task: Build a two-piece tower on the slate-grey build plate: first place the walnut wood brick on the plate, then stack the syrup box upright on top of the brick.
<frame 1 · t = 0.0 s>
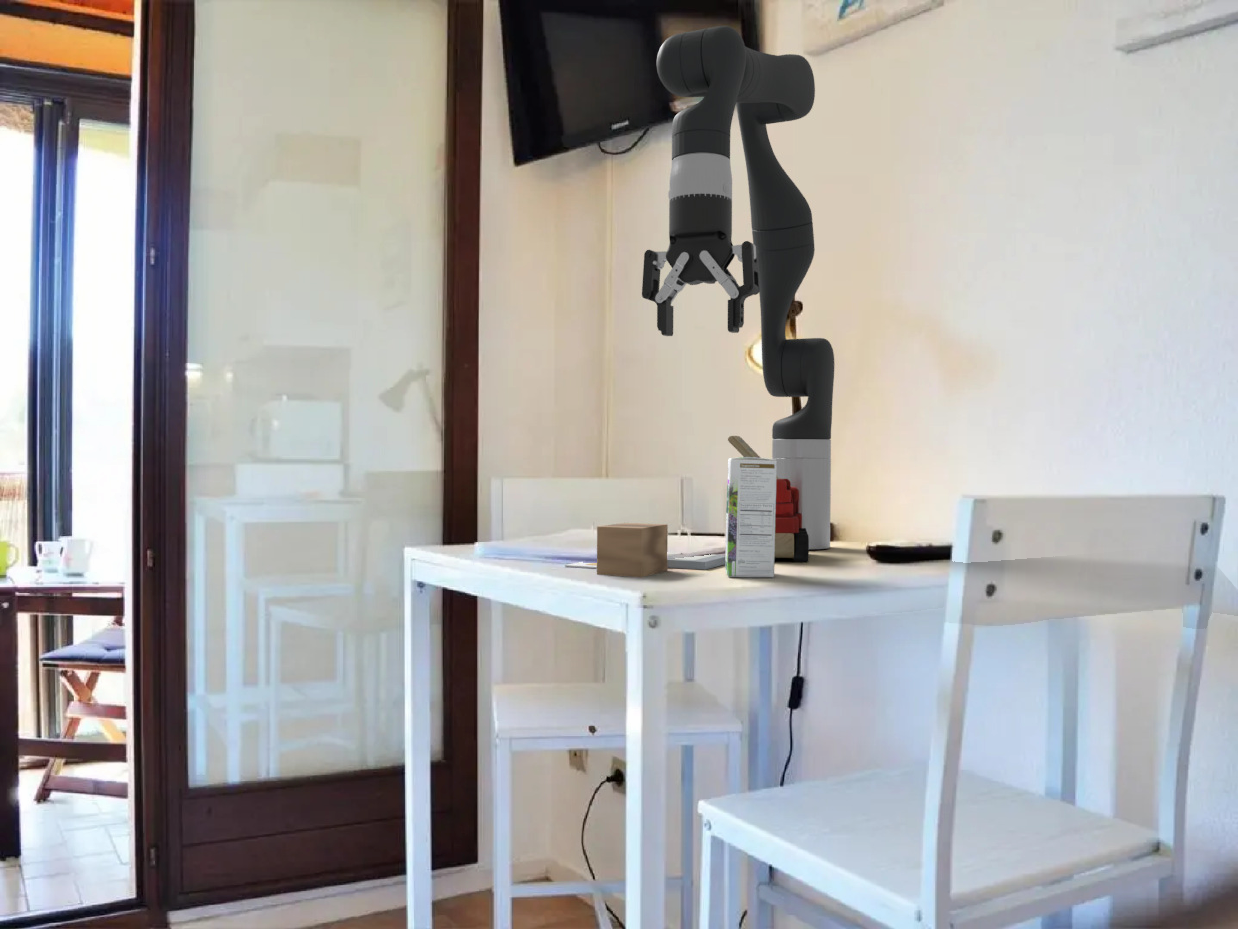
hand: (699, 333, 126), 29 cm above the table, fingers open, 8 cm apart
brick: (632, 573, 131), on the table
toy fire truck: (767, 559, 151), on the table
build plate: (683, 564, 141), on the table
wristwatch: (632, 561, 147), on the table
syrup box: (749, 577, 128), on the table
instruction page: (604, 564, 139), on the table
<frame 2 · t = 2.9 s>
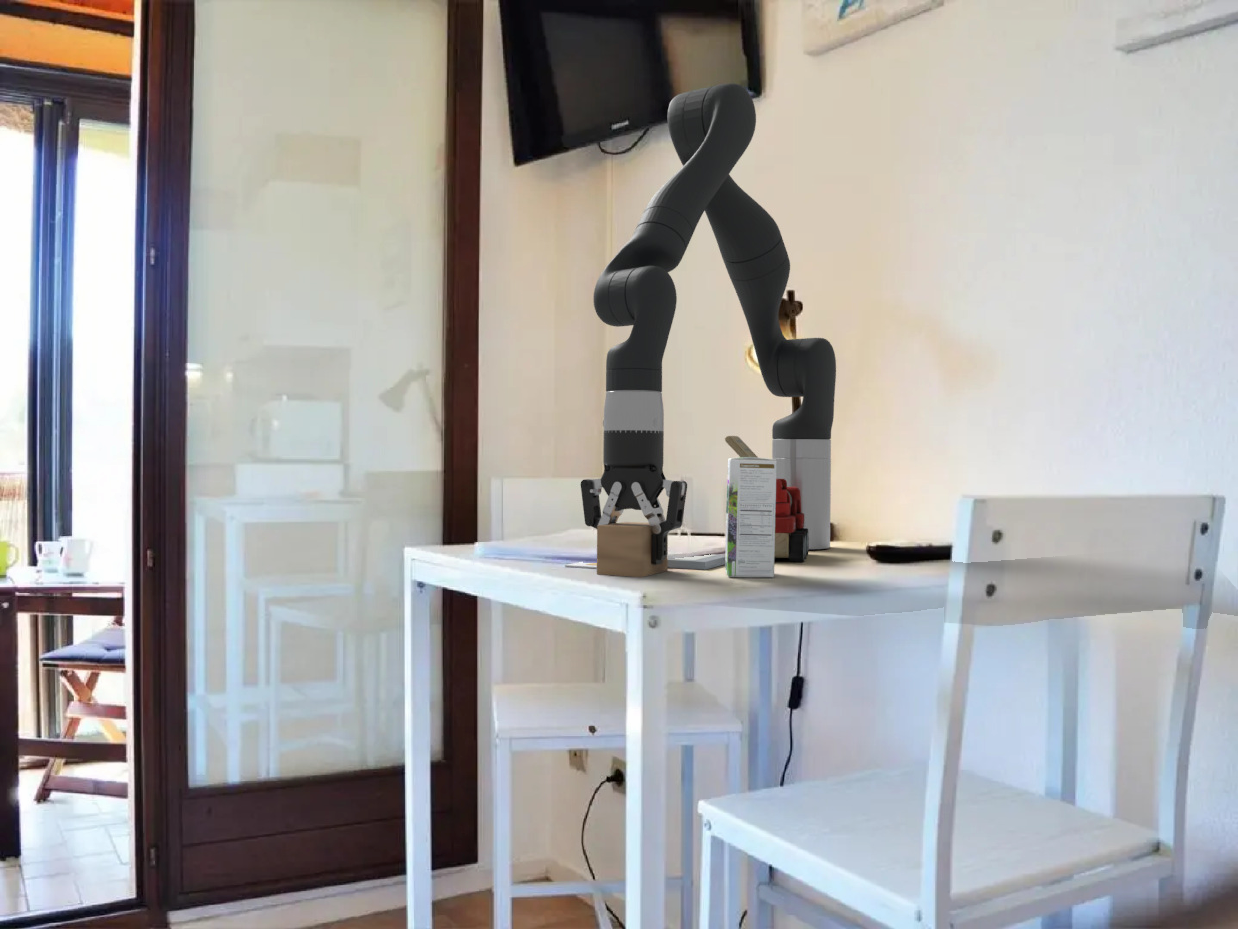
hand: (632, 562, 131), 1 cm above the table, fingers closed on brick, 6 cm apart
brick: (632, 572, 131), on the table, touching gripper
everything else where it was.
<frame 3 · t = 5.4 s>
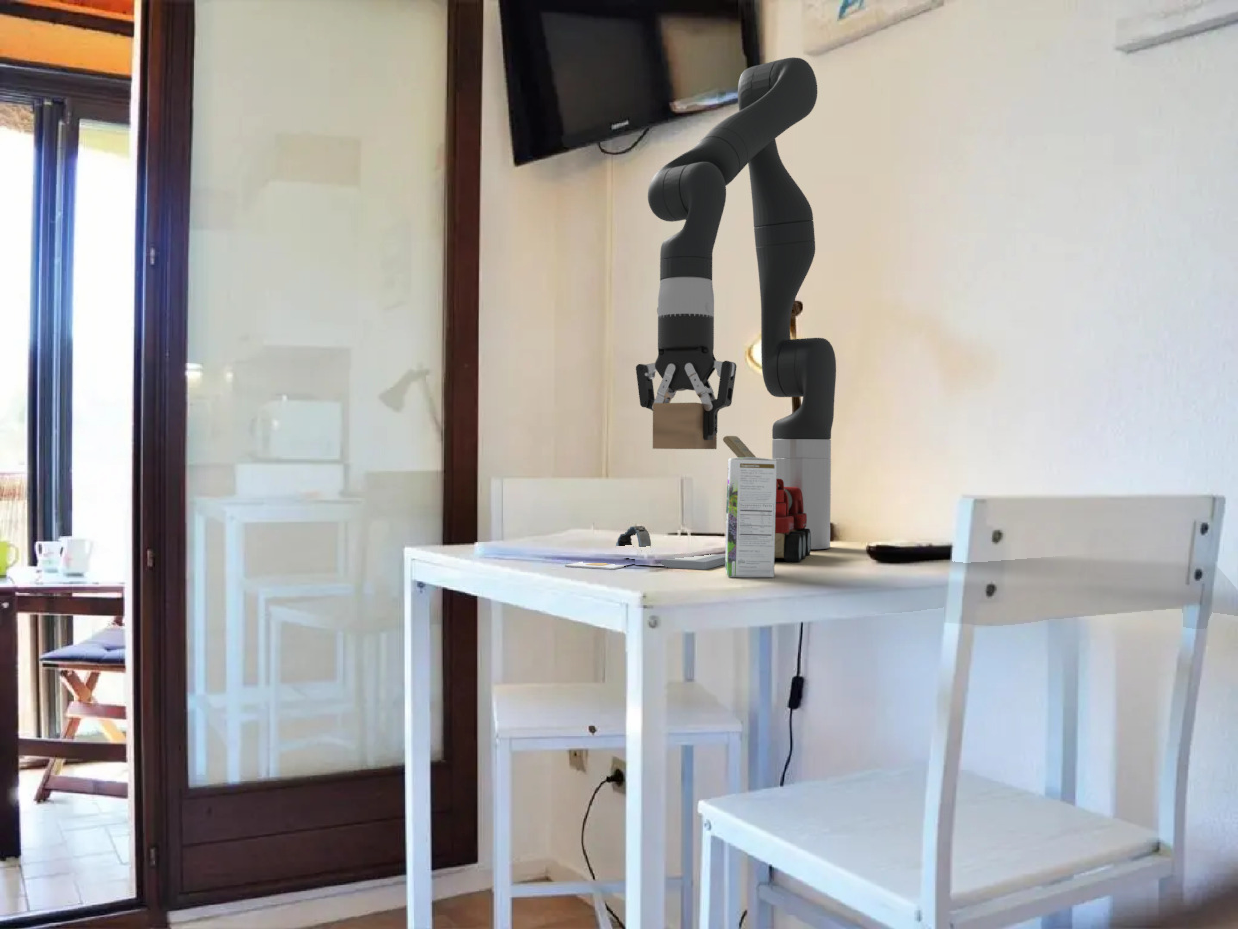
hand: (685, 439, 141), 17 cm above the table, fingers closed on brick, 6 cm apart
brick: (685, 448, 141), point 16 cm above the table, touching gripper
everything else where it was.
when the fingers open (4 cm above the table, at t = 8.2 s): brick drops 1 cm, resting on build plate.
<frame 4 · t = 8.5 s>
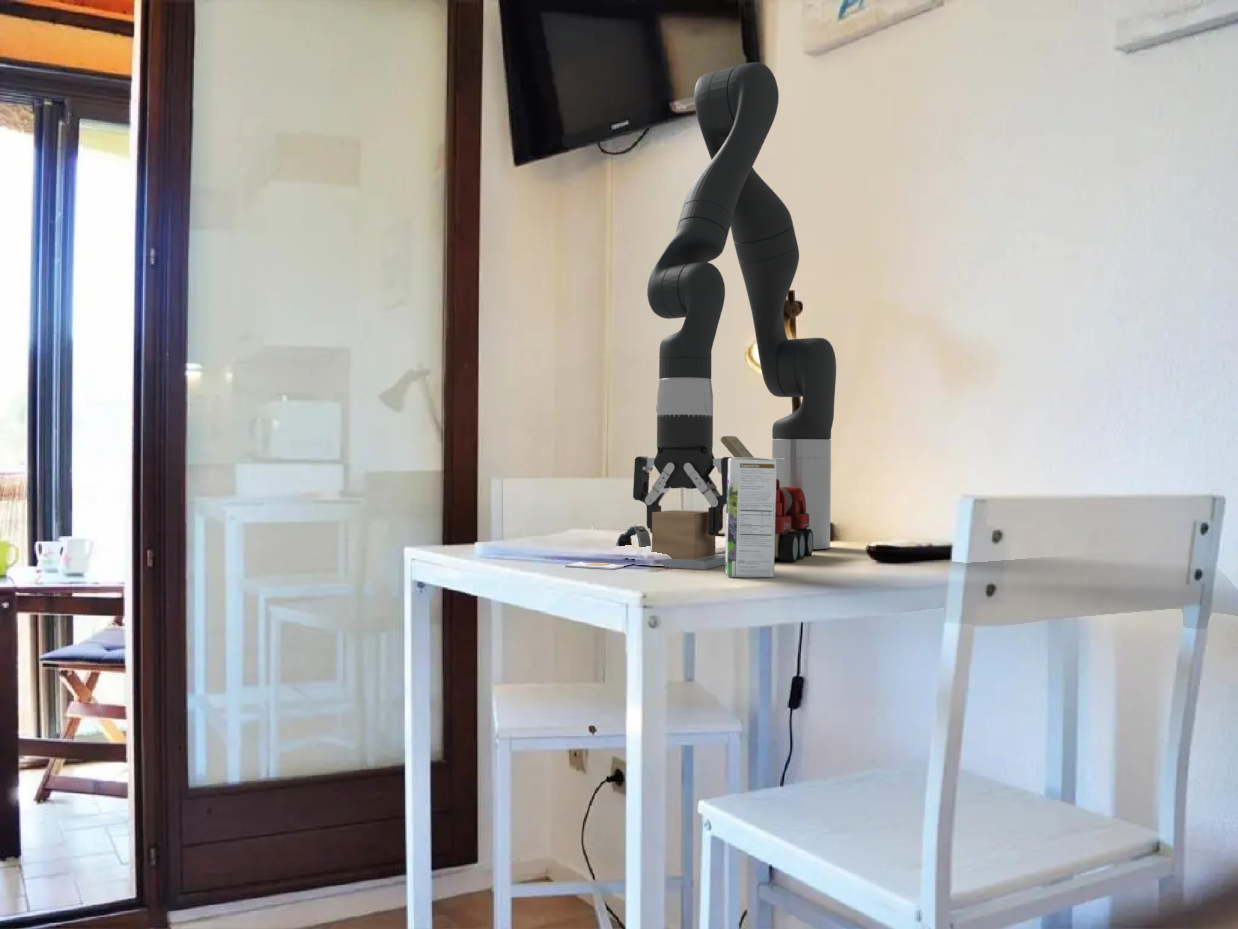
hand: (684, 534, 141), 4 cm above the table, fingers open, 8 cm apart
brick: (684, 556, 141), point 1 cm above the table, touching build plate
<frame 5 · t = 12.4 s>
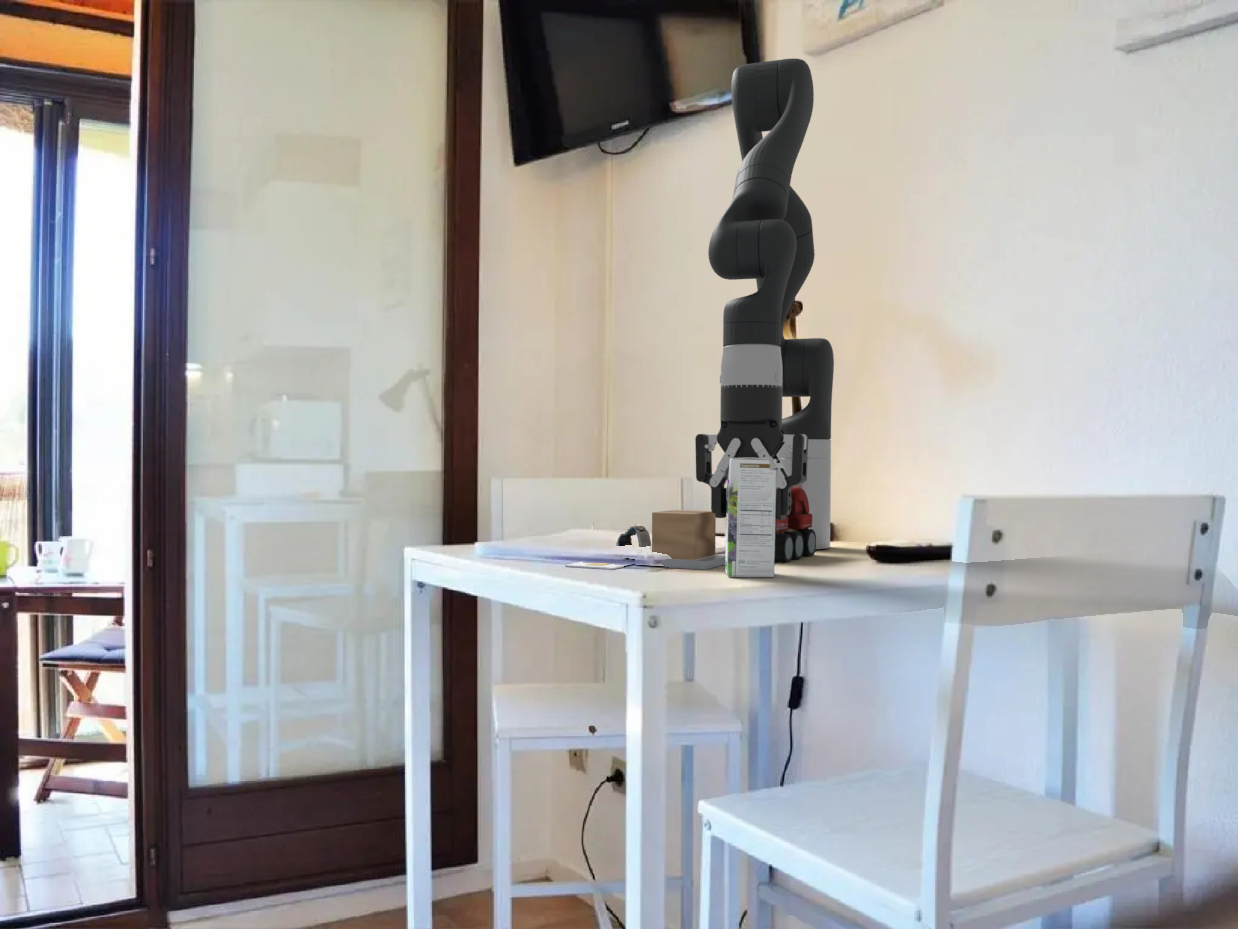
hand: (750, 518, 128), 7 cm above the table, fingers closed on syrup box, 7 cm apart
syrup box: (749, 576, 128), on the table, touching gripper
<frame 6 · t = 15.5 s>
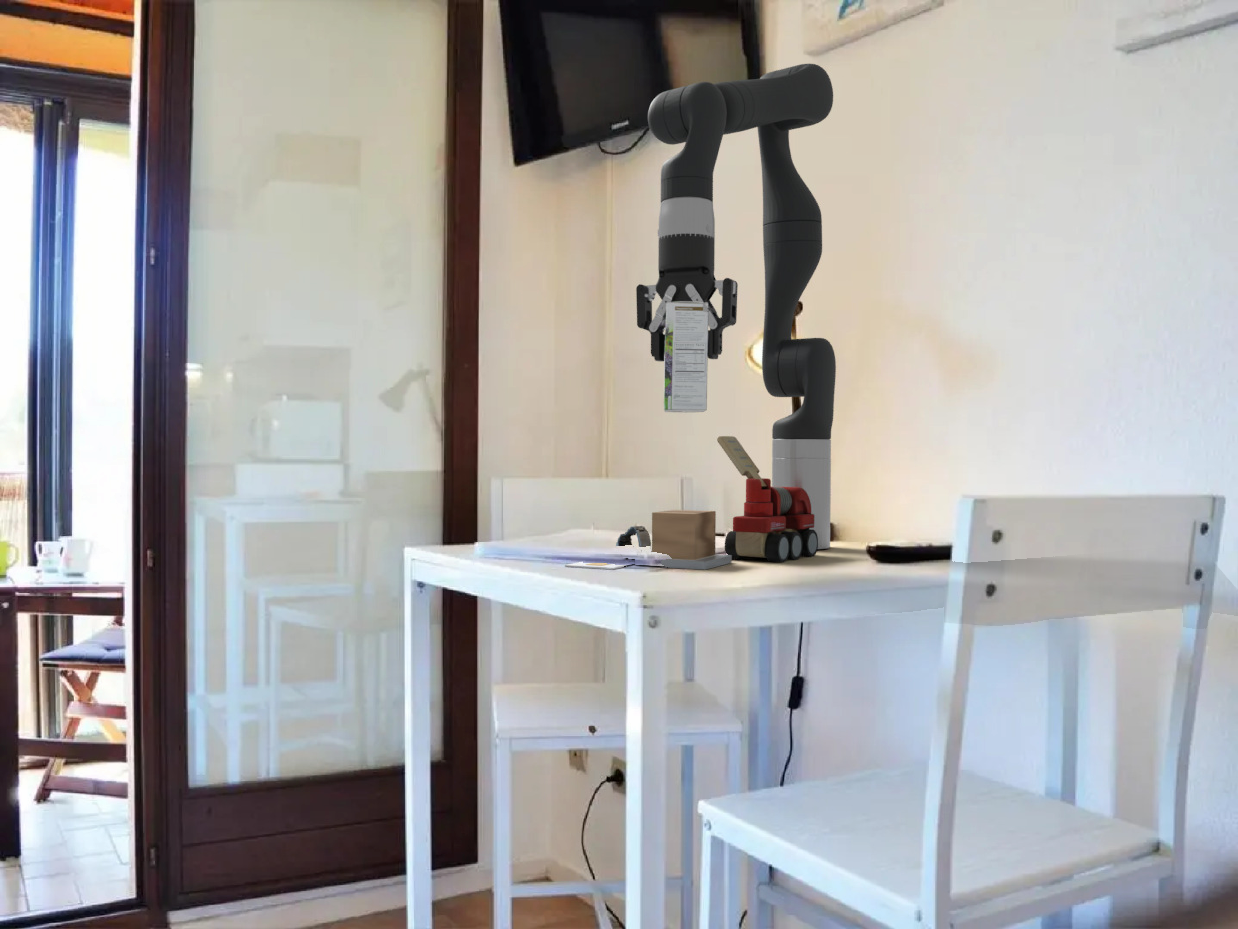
hand: (685, 359, 141), 27 cm above the table, fingers closed on syrup box, 7 cm apart
syrup box: (685, 413, 141), point 20 cm above the table, touching gripper
when the fingers open (15 cm above the table, at t = 19.1 s): syrup box stays where it is, resting on brick.
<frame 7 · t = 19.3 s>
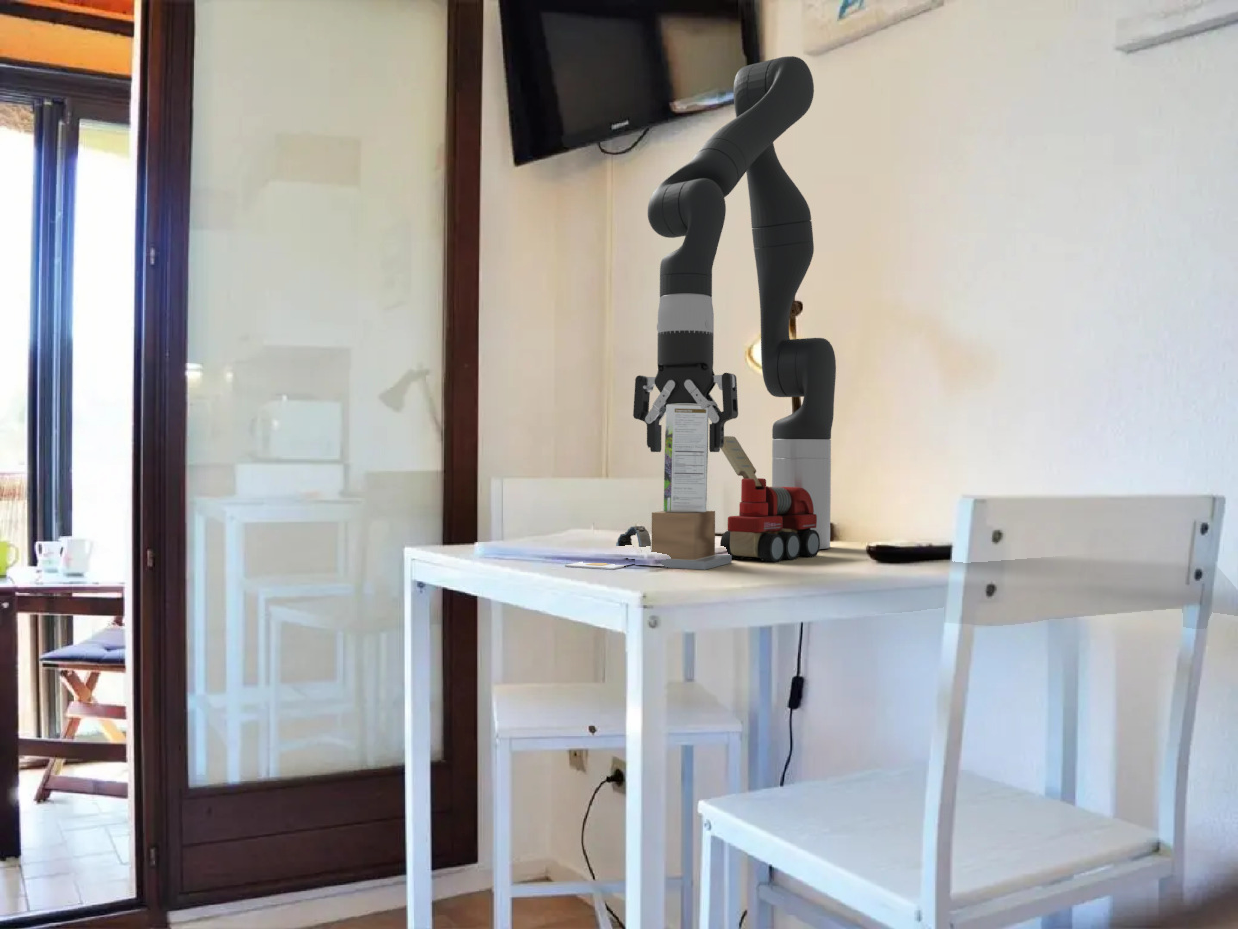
hand: (684, 452, 141), 15 cm above the table, fingers open, 8 cm apart
brick: (683, 556, 141), point 1 cm above the table, touching build plate, syrup box
syrup box: (685, 513, 141), point 7 cm above the table, touching brick
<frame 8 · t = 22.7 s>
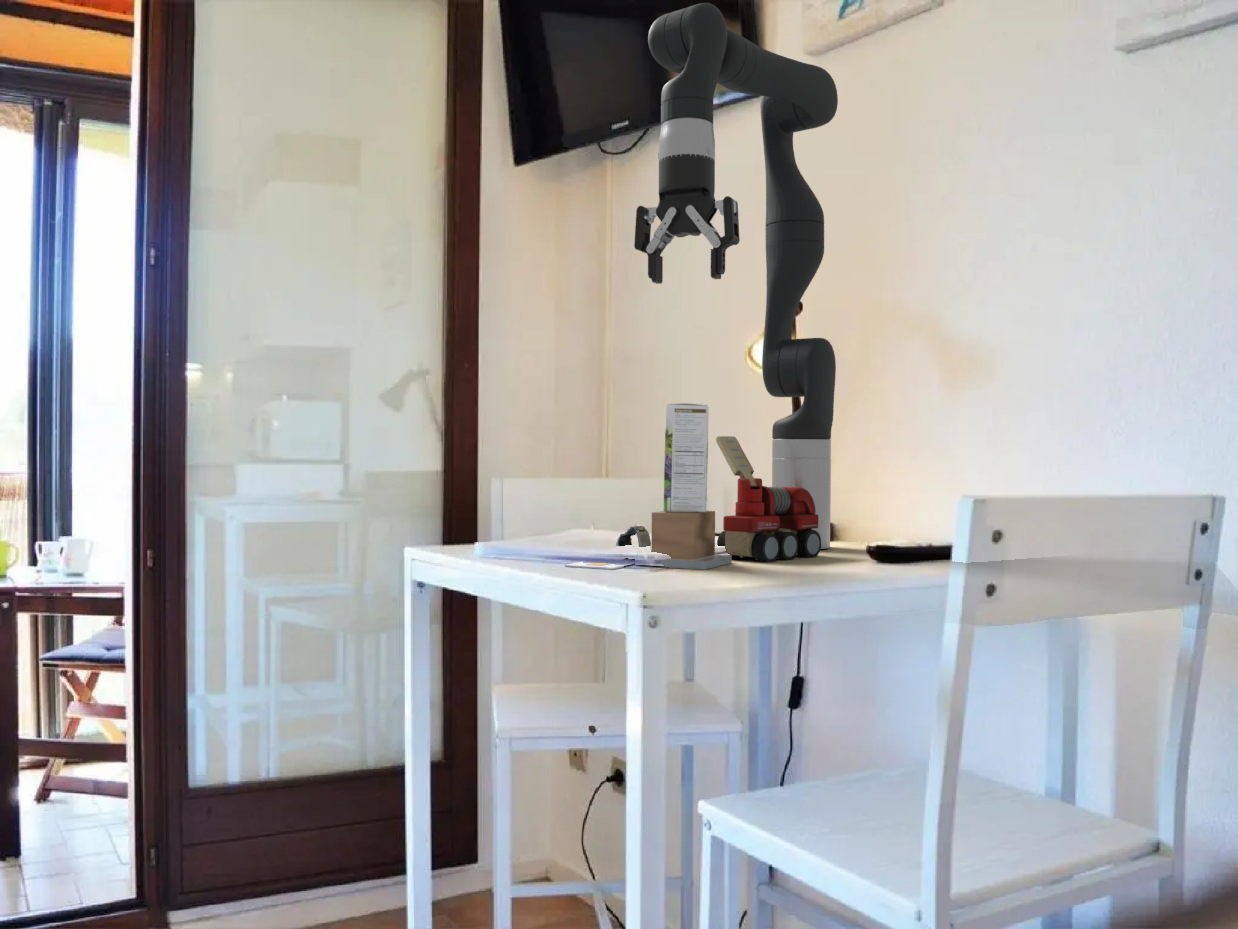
hand: (685, 280, 140), 38 cm above the table, fingers open, 8 cm apart
at the end: brick inside the target area on the build plate (0.1 cm from its centre), point 1.0 cm above the build plate's base; syrup box 0.2 cm off-centre on the brick, point 5.8 cm above the brick's base; syrup box tilted 0° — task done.
